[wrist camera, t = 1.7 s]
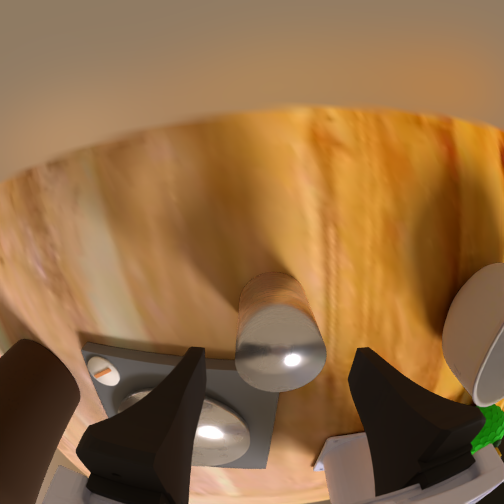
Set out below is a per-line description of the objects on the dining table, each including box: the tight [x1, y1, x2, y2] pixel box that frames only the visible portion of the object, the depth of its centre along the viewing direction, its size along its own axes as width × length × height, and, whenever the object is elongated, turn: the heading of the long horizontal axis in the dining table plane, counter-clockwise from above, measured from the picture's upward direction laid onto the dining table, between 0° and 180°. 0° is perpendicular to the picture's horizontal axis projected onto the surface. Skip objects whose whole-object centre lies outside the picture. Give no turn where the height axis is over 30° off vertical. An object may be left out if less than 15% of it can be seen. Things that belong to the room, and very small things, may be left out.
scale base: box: [81, 342, 279, 469], centre depth 21 cm, size 16×16×2 cm
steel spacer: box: [235, 272, 326, 392], centre depth 15 cm, size 4×4×6 cm
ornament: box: [471, 404, 504, 456], centre depth 20 cm, size 8×8×10 cm
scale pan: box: [118, 387, 250, 466], centre depth 20 cm, size 12×12×1 cm
